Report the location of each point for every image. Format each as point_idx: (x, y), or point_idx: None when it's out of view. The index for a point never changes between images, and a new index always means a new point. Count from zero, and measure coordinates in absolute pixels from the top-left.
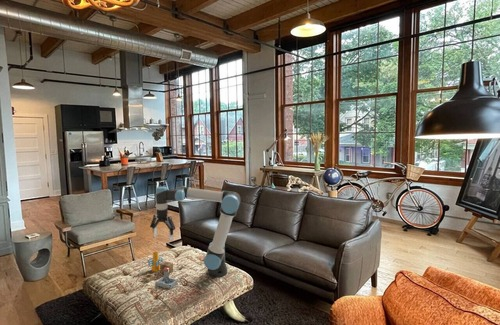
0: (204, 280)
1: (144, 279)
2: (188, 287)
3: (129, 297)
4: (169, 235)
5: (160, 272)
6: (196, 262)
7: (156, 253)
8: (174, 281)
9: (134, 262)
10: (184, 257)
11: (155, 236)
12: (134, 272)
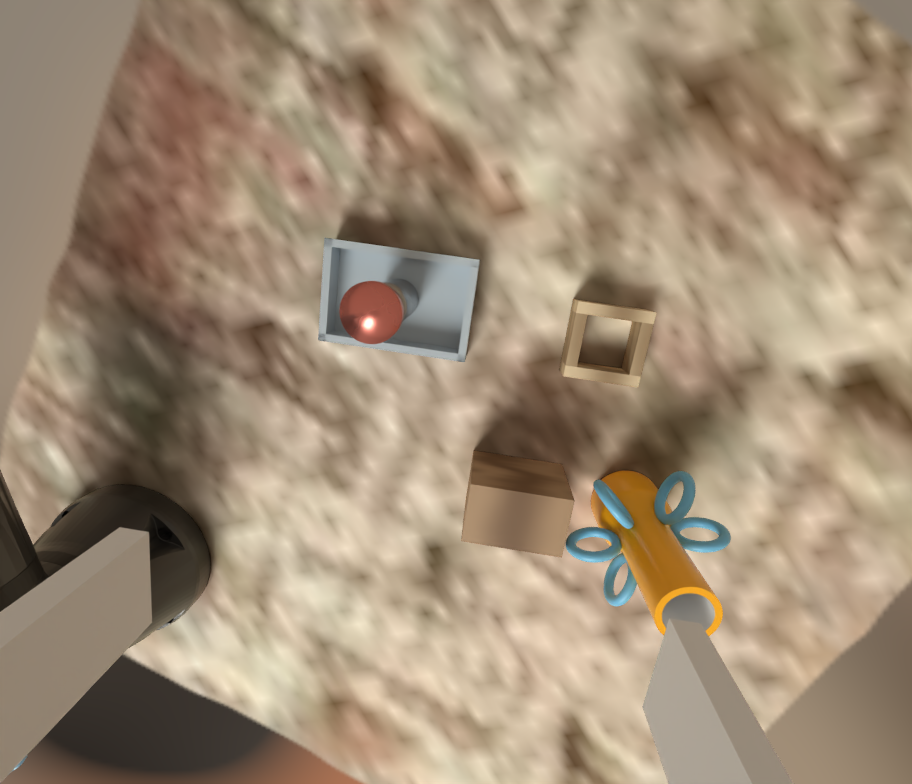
0: (161, 423)
1: (625, 307)
2: (215, 298)
3: (602, 10)
4: (12, 624)
5: (560, 465)
6: (366, 664)
7: (655, 586)
8: (324, 305)
9: (893, 588)
10: (500, 723)
11: (665, 670)
12: (796, 426)
